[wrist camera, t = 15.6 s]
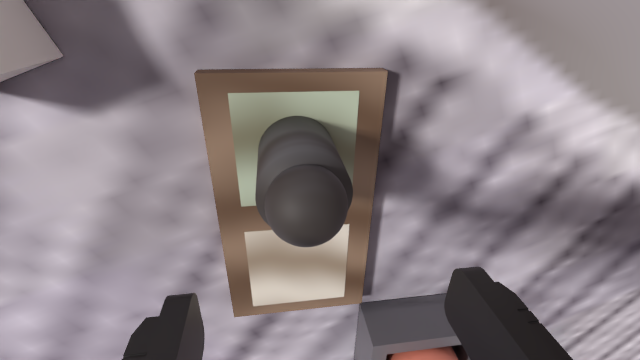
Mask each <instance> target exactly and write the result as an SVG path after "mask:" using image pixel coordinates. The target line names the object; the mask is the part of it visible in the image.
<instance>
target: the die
mask: <svg viewBox="0 0 640 360" xmlns="http://www.w3.org/2000/svg"><path fill="white" fill-rule="evenodd" d="M61 57H63V55H62V53H61V52H60V50H59V49H58V48H57V46H56V45H55V44H54V42H53V41H52V39H51V38H50V37H49V35H48V34H47V32H46V31H45V30H44V28H43V27H42V25H41V24H40V23H39V21H38V20H37V19H36V17H35V16H34V14H33V13H32V12H31V10H30V9H29V7H28V6H27V5H26V3H25V2H24V0H0V82H2V81H4V80H6V79H9V78H11V77H14V76H16V75H19V74H21V73H24V72H26V71H29V70H31V69H34V68H36V67H39V66H41V65H44V64H46V63H49V62H51V61H53V60H56V59H58V58H61Z"/></svg>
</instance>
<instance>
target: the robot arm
mask: <svg viewBox="0 0 640 360" xmlns="http://www.w3.org/2000/svg"><path fill="white" fill-rule="evenodd" d="M444 309H445V314H446V317H447V320H448V322H449V324H450V325H451V327H452V329H453V330H454V332H455V334H456V336H457V337H458V339H459V341H460V342H461V344H462V346H463V348H464V349H465V351H466V353H467V354H468V356H469V358H470V360H573V359H572V358H571V357H570V356H569V355H568V353H567V352H566V351H565V350H564V349H563V348H562V347H561V345H560V344H559V343H558V342H557V341H556V340H555V339H554V337H553V336H552V335H551V334H550V333H549V332H548V331H547V329H546V328H545V327H544V326H543V325H542V324H540V323H539V320H538V319H537V318H536V317H535V316H534V314H533V313H532V312H531V311H528V308H527V306H526V305H525V304H524V303H523V302H522V301H521V300H520V298H519V297H518V296H517V295H516V294H515V293H514V292H512V291H511V290H509V289H508V288H507V287H505V286H504V285H502V284H501V283H500V282H494V281H493V280H492V279H491V278H490V276H489V275H488V274H487V273H486V272H485V271H484V269H482V268H481V267H469V268H459V269H455V270H454V271H453V273H452V277H451V280H450V284H449V287H448V291H447V294H446V298H445V302H444ZM203 350H204V326H203V322H202V317H201V312H200V308H199V303H198V298H197V295H196V293H191V294H180V295H170V296H167V297H166V299H165V301H164V304H163V307H162V310H161V313H160V316H158V317H148V318H146V319H145V320H144V321H143V322H142V323H141V325H140V326H139V327H138V328H137V329H136V330H135V332H134V333H133V334H132V335H131V338H130V340H129V343H128V345H127V348H126V350H125V352H124V355H123V356H124V357H123V359H122V360H202V356H203Z"/></svg>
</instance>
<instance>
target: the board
mask: <svg viewBox="0 0 640 360" xmlns="http://www.w3.org/2000/svg"><path fill="white" fill-rule="evenodd" d="M387 74H388V71H386V70H385V69H383V68H329V69H222V70H197V71H196V72H195V73H194V75H195V81H196V87H197V93H198V99H199V105H200V111H201V117H202V123H203V130H204V136H205V142H206V148H207V154H208V160H209V166H210V172H211V178H212V184H213V190H214V197H215V203H216V209H217V215H218V221H219V227H220V233H221V239H222V245H223V251H224V257H225V264H226V270H227V276H228V282H229V288H230V294H231V300H232V306H233V312H234V317H240V316H249V315H258V314H267V313H276V312H285V311H294V310H304V309H313V308H322V307H331V306H340V305H349V304H358V303H362V295H363V286H364V277H365V268H366V259H367V251H368V242H369V233H370V224H371V215H372V206H373V198H374V189H375V180H376V171H377V162H378V153H379V144H380V136H381V127H382V118H383V109H384V100H385V91H386V83H387ZM289 116H305V117H309V118H312V119H314V120H316V121H318V122H319V123H321V124H322V125H323V126H324V127H325V128H326V129H327V131H328V132H329V134H330V136H331V138H332V140H333V142H334V144H335V146H336V149H337V151H338V153H339V155H340V157H341V159H342V162H343V164H344V166H345V168H346V170H347V173H348V175H349V177H350V179H351V182H352V187H353V198H352V202H351V205H350V208H349V210H348V212H347V217H346V220H345V222H344V224H343V226H342V228H341V229H340V231H339V232H338V233H337V234H336V235H335V236H334V237H333V238H332V239H331V240H329V241H327V242H326V243H324V244H321V245H318V246H314V247H298V246H294V245H291V244H289V243H287V242H285V241H283V240H282V239H281V238H279V237H278V236H277V235H276V234H275V233H274V232H273V230H272V229H271V227H270V226H269V225H268V224H267V223H266V222H265V221H264V220H263V219H262V217H261V216H260V214H259V212H258V209H257V206H256V201H255V193H256V177H257V161H258V147H259V142H260V139H261V137H262V135H263V134H264V132H265V131H266V130H267V128H268V127H269V126H271V125H272V124H273V123H274V122H276V121H278V120H280V119H282V118H285V117H289Z"/></svg>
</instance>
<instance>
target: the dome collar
mask: <svg viewBox="0 0 640 360" xmlns="http://www.w3.org/2000/svg"><path fill="white" fill-rule="evenodd" d="M445 298H446V294H439V295H430V296H420V297H411V298H402V299H393V300H384V301H375V302H366V303H360V305H359V314H358V324H357V333H356V342H355V351H354V360H386V356H387V354H394V353H401V352H409V351H416V350H424V349H431V348H439V347H446V346H451V347H452V348H453V350H454V352H455V354H456V356H457V358H458V360H470V358H469V356H468V354H467V353H466V351H465V349H464V348H463V346H462V344H461V342H460V341H459V339H458V337H457V336H456V334H455V332H454V330H453V329H452V327H451V325H450V324H449V322H448V320H447V317H446V314H445V309H444V302H445Z"/></svg>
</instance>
